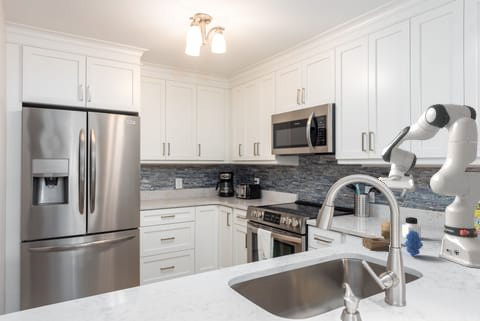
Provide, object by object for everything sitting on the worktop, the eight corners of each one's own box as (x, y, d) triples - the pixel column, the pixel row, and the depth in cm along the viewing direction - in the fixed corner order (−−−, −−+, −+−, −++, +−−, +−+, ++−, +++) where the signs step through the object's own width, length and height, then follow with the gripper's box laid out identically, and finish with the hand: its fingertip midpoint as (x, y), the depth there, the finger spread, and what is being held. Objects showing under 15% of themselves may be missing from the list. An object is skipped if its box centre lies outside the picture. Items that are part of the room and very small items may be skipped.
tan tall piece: (394, 244, 165) (395, 224, 165) (384, 244, 165) (384, 223, 165) (389, 242, 171) (389, 222, 171) (379, 242, 171) (379, 221, 171)
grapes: (416, 260, 138) (416, 233, 138) (401, 256, 143) (401, 230, 144) (429, 256, 144) (429, 230, 145) (414, 253, 150) (414, 227, 150)
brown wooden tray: (391, 250, 154) (391, 242, 154) (371, 250, 153) (371, 242, 153) (381, 245, 164) (381, 237, 164) (362, 245, 163) (362, 237, 163)
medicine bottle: (421, 239, 178) (421, 218, 178) (408, 239, 178) (408, 218, 178) (414, 237, 185) (414, 216, 185) (402, 236, 185) (402, 216, 185)
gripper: (377, 173, 191) (372, 190, 183) (415, 174, 178) (411, 193, 170) (379, 180, 194) (374, 197, 186) (416, 182, 181) (413, 200, 174)
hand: (392, 195), depth 178 cm, fingers open, 8 cm apart
